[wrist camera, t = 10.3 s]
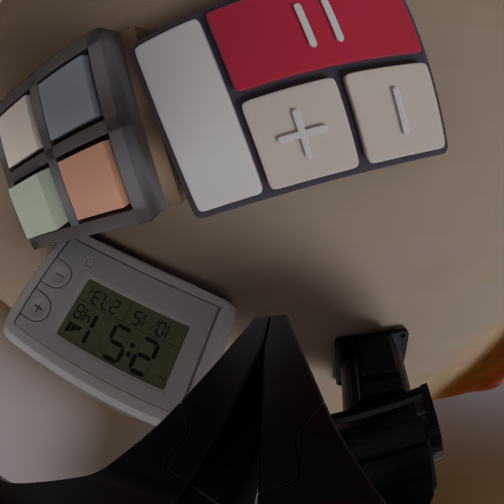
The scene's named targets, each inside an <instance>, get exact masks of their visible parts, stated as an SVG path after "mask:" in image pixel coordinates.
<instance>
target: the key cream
mask: <svg viewBox="0 0 504 504" xmlns="http://www.w3.org/2000/svg"><path fill="white" fill-rule="evenodd" d="M0 137H1V141H2V145H3V148H4V152H5V156H6V159H7V163H8V166H9V168H11V167H13V166H15V165H17V164H20V163H22V162H24V161H27V160H29V159H30V158H32V157H34V156H35V155H37V154H39V153H40V152H42V151H43V150H44V148H43V144H42V141H41V137H40V133H39V130H38V126H37V122H36V118H35V113H34V109H33V104H32V100H31V95H26V96H24V97H22V98H21V99H20V100H19V101H18V102H17V103H15V104H14V105H13V106H12V107H11V108H10V109H9V110H7V111H6V112H5V113H4V114H3V115H2V116H1V117H0Z"/></svg>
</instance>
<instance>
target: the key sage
mask: <svg viewBox="0 0 504 504" xmlns="http://www.w3.org/2000/svg"><path fill="white" fill-rule="evenodd" d="M8 191H9V194H10V197H11V199H12V202H13V205H14V207H15V210H16V213H17V215H18V218H19V220H20V223H21V225H22V228H23V230H24V232H25V235H26V237H27V239H29V238H32V237H35V236H38V235H41V234H45V233H48V232H51V231H54V230H57V229H59V228H60V227H61V226H63V225H64V224H66V223H67V222H68V221H69V220H68V217H67V215H66V212H65V210H64V207H63V205H62V202H61V199H60V197H59V194H58V191H57V188H56V185H55V183H54V180H53V177H52V174H51V171H50V168H47V169H45V170H43V171H40V172H38V173H36V174H34V175H33V176H31V177H29V178H27V179H26V180H24V181H22V182H21V183H19V184H17V185H16V186H14V187H12V188H11V189H9V190H8Z"/></svg>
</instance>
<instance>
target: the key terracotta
mask: <svg viewBox="0 0 504 504" xmlns="http://www.w3.org/2000/svg"><path fill="white" fill-rule="evenodd" d="M58 166H59V169H60V172H61V175H62V178H63V181H64V184H65V187H66V190H67V193H68V195H69V198H70V201H71V203H72V206H73V209H74V211H75V214H76V216H77V219H78V220H81V219H84V218H88V217H91V216H94V215H98V214H102V213H105V212H109V211H112V210H116V209H120V208H123V207H125V206H127V205H128V204H129V203H131V202H130V200H129V197H128V194H127V191H126V188H125V185H124V182H123V179H122V176H121V173H120V170H119V167H118V164H117V161H116V157H115V154H114V151H113V148H112V144H111V141H110V139H109V140H105V141H103V142H100V143H98V144H96V145H93V146H91V147H89V148H87V149H85V150H83V151H80V152H78V153H76V154H74V155H72V156H70V157H68V158H66V159H64V160H62V161H60V162H58Z"/></svg>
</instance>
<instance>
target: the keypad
mask: <svg viewBox="0 0 504 504" xmlns="http://www.w3.org/2000/svg"><path fill="white" fill-rule="evenodd" d="M145 37H146V31H145V29H142V28H139V27H136V26H133V27H131V28H129V29H127V30H125V31H123V32H121V33H120V32H116V31H111V30H107V29H102V28H96V29H94V30H93V31H91V32H89V33H88V34H86V35H84V36H83V37H81V38H80V39H78V40H77V41H75V42H74V43H72V44H71V45H69V46H68V47H66V48H65V49H63V50H62V51H60V52H59V53H58V54H56V55H55V56H54V57H52V58H51V59H49V60H48V61H47V62H46V63H44V64H43V65H42V66H40V67H39V68H38V69H37V70H35V71H34V72H33V73H32V74H30V75H29V76H28V77H27V78H26V79H24V80H23V81H22V82H21V83H20V84H19V85H18V86H16V87H15V88H14V89H13V90H12V91H11V92H10V93H9V94H8V95H7V96H6V97H5V98H3V99H2V100H1V101H0V117H1V116H2V115H3V114H4V113H5V112H6V111H7V110H9V109H10V108H11V107H12V106H13V105H14V104H15V103H17V102H18V101H19V100H20V99H21V98H22V97H24V96H26V95H31V100H32V104H33V109H34V113H35V118H36V122H37V126H38V130H39V133H40V137H41V141H42V144H43V148H44V150H43V151H42V152H40V153H39V154H37V155H35V156H34V157H32V158H30V159H29V160H27V161H24V162H22V163H20V164H17V165H15V166H13V167H11V168H9V166H8V163H7V159H6V156H5V152H4V148H3V145H2V141H1V137H0V160H1V163H2V167H3V170H4V173H5V176H6V180H7V183H8V186H9V189H11V188H12V187H14V186H16V185H17V184H19V183H21V182H22V181H24V180H26V179H27V178H29V177H31V176H33V175H34V174H36V173H38V172H40V171H43V170H45V169H47V168H50V171H51V174H52V177H53V180H54V183H55V185H56V188H57V191H58V194H59V197H60V199H61V202H62V205H63V207H64V210H65V212H66V215H67V217H68V220H69V221H68V222H67V223H66V224H64V225H63V226H61V227H60V228H59V229H57V230H54V231H51V232H48V233H45V234H41V235H38V236H35V237H32V238H29V240H30V242H31V244H32V246H33V249H38V248H42V247H45V246H49V245H53V244H57V243H61V242H65V241H69V240H73V239H77V238H81V237H85V236H89V235H93V234H97V233H101V232H106V231H110V230H114V229H119V228H123V227H128V226H132V225H137V224H141V223H146V222H151V221H152V220H153V219H154V218H155V217H156V216H157V215H158V214H159V213H160V212H161V211H163V210H164V209H165V208H166V207H167V206H168V205H173V204H178V203H182V202H183V201H184V200H185V199H186V198H187V196H186V194H185V191H184V189H183V187H182V184H181V182H180V180H179V177H178V175H177V173H176V170H175V168H174V165H173V163H172V160H171V158H170V156H169V153H168V151H167V148H166V146H165V143H164V141H163V138H162V136H161V133H160V131H159V128H158V126H157V123H156V121H155V118H154V116H153V113H152V111H151V108H150V106H149V103H148V100H147V98H146V95H145V93H144V90H143V87H142V85H141V82H140V79H139V77H138V74H137V71H136V69H135V66H134V63H133V61H132V58H131V55H130V48H131V46H132V45H133V44H134V43H136V42H137V41H139V40H141V39H143V38H145ZM80 55H89V57H90V62H91V66H92V71H93V76H94V80H95V84H96V89H97V93H98V97H99V101H100V105H101V109H102V112H103V116H104V119H102V120H100V121H97V122H95V123H93V124H91V125H89V126H87V127H85V128H83V129H81V130H79V131H77V132H76V133H74V134H71V135H68V136H65V137H62V138H59V139H56V140H53V141H51V140H50V136H49V132H48V129H47V125H46V121H45V117H44V113H43V108H42V104H41V99H40V95H39V90H38V85H39V84H40V83H41V82H43V81H44V80H45V79H47V78H48V77H49V76H51V75H52V74H54V73H55V72H56V71H58V70H59V69H61V68H62V67H64V66H65V65H67V64H68V63H70V62H71V61H73V60H74V59H76V58H77V57H79V56H80ZM109 139H110V141H111V144H112V148H113V151H114V154H115V157H116V161H117V164H118V167H119V170H120V173H121V176H122V179H123V182H124V185H125V188H126V191H127V194H128V197H129V200H130V202H131V203H129V204H128V205H127V206H125V207H123V208H120V209H116V210H112V211H109V212H105V213H102V214H98V215H94V216H91V217H88V218H84V219H81V220H78V219H77V216H76V214H75V211H74V209H73V206H72V203H71V201H70V198H69V195H68V193H67V190H66V187H65V184H64V181H63V178H62V175H61V172H60V169H59V166H58V162H60V161H62V160H64V159H66V158H68V157H70V156H72V155H74V154H76V153H78V152H80V151H83V150H85V149H87V148H89V147H91V146H93V145H96V144H98V143H100V142H103V141H105V140H109Z"/></svg>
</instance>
